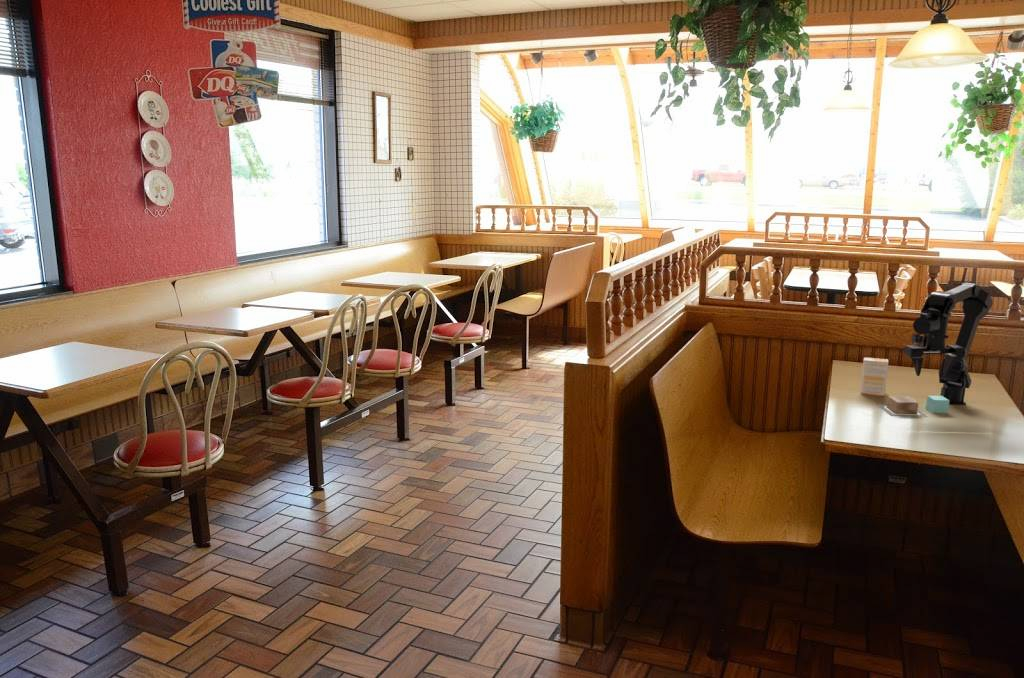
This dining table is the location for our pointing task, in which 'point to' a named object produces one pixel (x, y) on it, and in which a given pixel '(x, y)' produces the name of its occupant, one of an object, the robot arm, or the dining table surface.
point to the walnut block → (902, 405)
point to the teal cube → (937, 404)
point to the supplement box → (874, 376)
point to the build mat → (891, 413)
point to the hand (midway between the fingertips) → (931, 375)
